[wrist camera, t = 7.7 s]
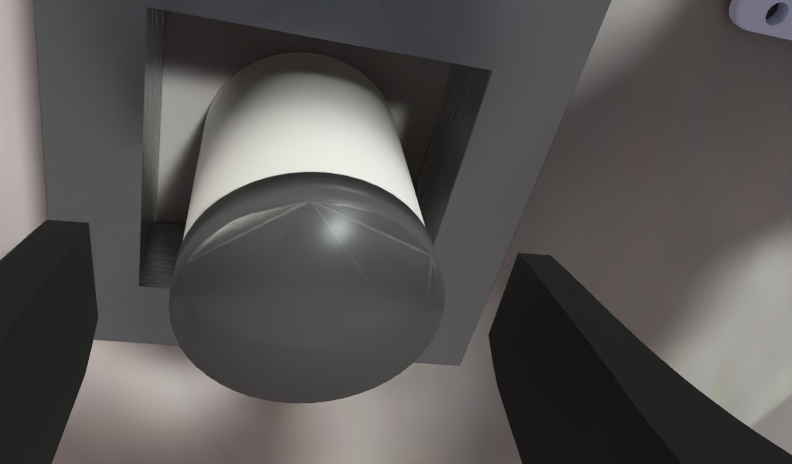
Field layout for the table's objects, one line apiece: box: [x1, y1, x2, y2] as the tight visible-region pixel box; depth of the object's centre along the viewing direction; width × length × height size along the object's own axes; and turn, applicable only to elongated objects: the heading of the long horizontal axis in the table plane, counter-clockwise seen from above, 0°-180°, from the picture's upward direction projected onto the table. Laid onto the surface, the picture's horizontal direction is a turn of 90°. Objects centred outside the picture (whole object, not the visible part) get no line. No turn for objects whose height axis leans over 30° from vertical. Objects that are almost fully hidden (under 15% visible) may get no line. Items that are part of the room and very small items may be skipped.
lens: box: [169, 52, 445, 403], centre depth 14 cm, size 5×5×6 cm
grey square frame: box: [33, 0, 611, 366], centre depth 15 cm, size 10×10×2 cm
